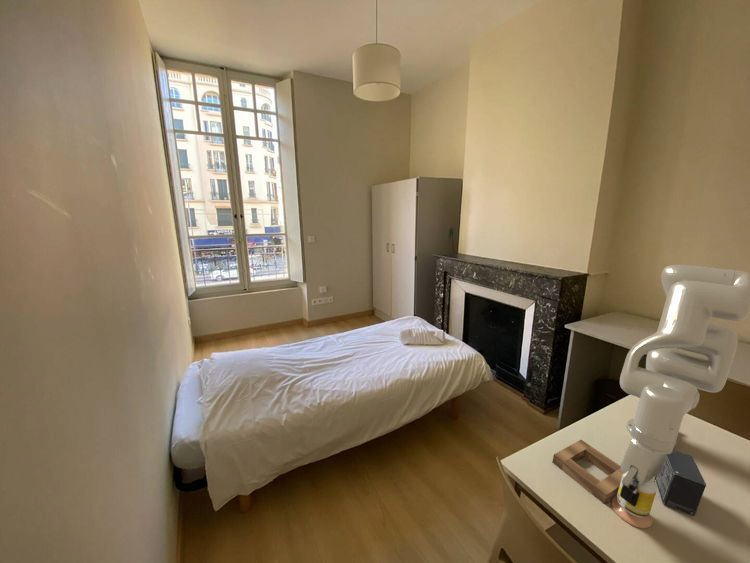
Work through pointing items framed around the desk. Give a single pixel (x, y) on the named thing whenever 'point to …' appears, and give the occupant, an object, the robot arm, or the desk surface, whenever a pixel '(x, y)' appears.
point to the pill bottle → (639, 498)
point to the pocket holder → (596, 487)
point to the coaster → (630, 516)
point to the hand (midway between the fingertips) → (635, 494)
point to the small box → (681, 483)
